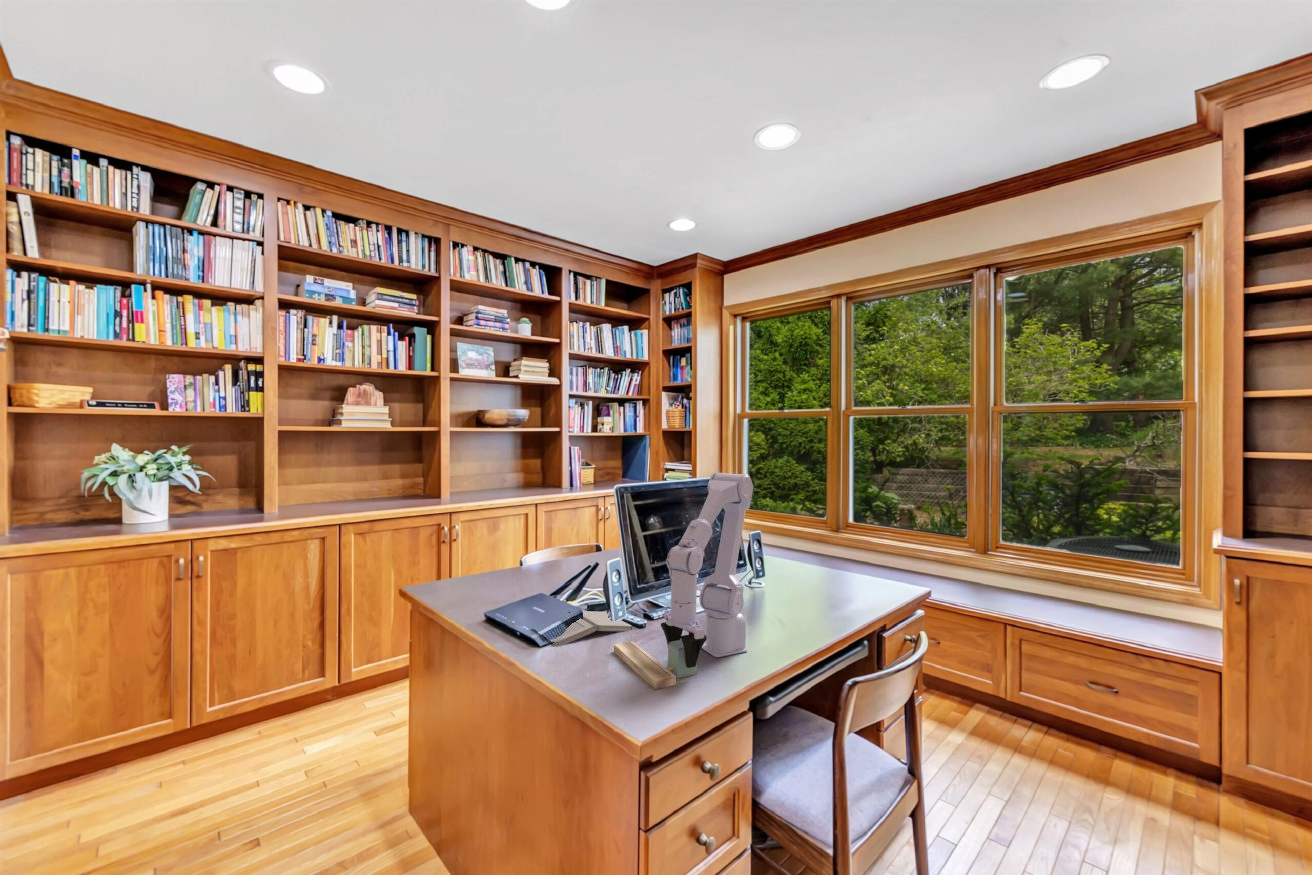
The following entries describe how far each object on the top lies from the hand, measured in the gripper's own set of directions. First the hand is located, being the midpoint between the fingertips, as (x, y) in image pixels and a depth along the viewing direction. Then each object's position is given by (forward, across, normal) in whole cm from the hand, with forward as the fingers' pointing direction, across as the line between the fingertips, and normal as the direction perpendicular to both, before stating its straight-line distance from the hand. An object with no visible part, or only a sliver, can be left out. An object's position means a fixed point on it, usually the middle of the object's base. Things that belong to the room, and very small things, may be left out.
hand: (682, 660), depth 124 cm
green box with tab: (+3, 0, 0) cm, 3 cm away
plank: (+3, -6, -7) cm, 10 cm away
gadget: (+3, -35, -11) cm, 37 cm away
